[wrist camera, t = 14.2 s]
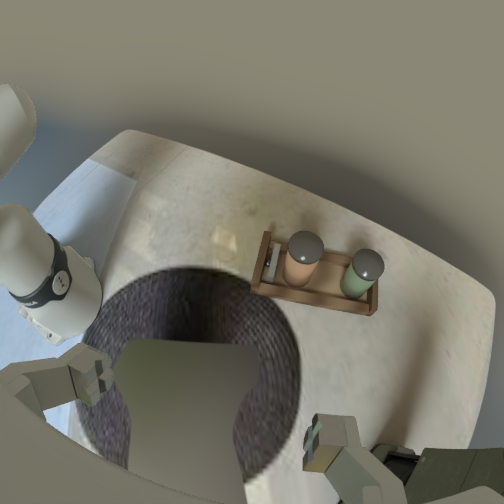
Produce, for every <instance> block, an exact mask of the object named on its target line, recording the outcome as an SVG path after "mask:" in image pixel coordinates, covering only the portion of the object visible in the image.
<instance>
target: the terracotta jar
mask: <svg viewBox="0 0 504 504" xmlns="http://www.w3.org/2000/svg"><path fill="white" fill-rule="evenodd" d="M323 251H324V245H323V242H322V240H321V239H320V238H319V237H318V236H317V235H316V234H314V233H312V232H309V231H300V232H297V233H295V234H293V235H292V236H291V238H290V240H289V244H288V251H287V255H286V259H285V263H284V267H283V271H282V276H283V279H284V281H285V282H286V283H287V284H288V285H289V286H291V287H295V288H300V287H304V286H305V285H307V284H308V283H309V281H310V279H311V277H312V275H313V272H314V270H315V268H316V266H317V263H318V261H319V259H320V258H321V256H322V254H323Z"/></svg>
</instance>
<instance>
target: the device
mask: <svg viewBox="0 0 504 504" xmlns="http://www.w3.org/2000/svg"><path fill="white" fill-rule="evenodd" d="M413 451H414V450H412V449H408V448H405V447H402V446H391V445H384V444H378V445H376V446H375V447H374V448H373V449H372V450H371V451H370V452H371V453H372V454H373V455H374V456H375V457H376V458H377V459H378V460H379V461H380V462H381V463H382V464H383V465H384V466H385V467H387V468H388V469H389V470H390V471H391V472H392V473H393V474H394V475H395V476H396V477H398V478H399V479H400V480H401V481H402V482H403V486H404V491H405V495H406V499H407V504H424V503H428V502H432V501H435V500H439V499H443V498H446V497H449V496H453V495H456V494H459V493H462V492H465V491H467V490H470V489H473V488H475V487H479V486H487V487H489V488H491V489H492V490H494V491H496V492H497V493H499V494H500V495H502V496H503V497H504V448H490V449H436V448H424V450H423V452H422V454H421V456H419V455H416V454H415V452H413ZM416 461H418V462H416ZM338 504H345V503H344V502H343V500H342V499H341V500H340V502H339V503H338Z"/></svg>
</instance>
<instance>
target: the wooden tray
mask: <svg viewBox="0 0 504 504" xmlns="http://www.w3.org/2000/svg"><path fill="white" fill-rule="evenodd" d="M270 238H271V232H268V231H264V234H263V238H262V242H261V246H260V250H259V254H258V257H257V261H256V265H255V269H254V273H253V277H252V280H251V293H253V294H258V295H263V296H267V297H272V298H277V299H282V300H286V301H291V302H296V303H301V304H306V305H311V306H317V307H322V308H327V309H332V310H338V311H343V312H349V313H355V314H360V315H366V316H371V315H372V314H373V313H375V312H376V311H377V308H378V279H377V280H376V281H375V282H374V283H373V284H372V285H371V287H370V288H369V289H368V290H367V291H366V292H365V293H364V295H363V296H362V297H360V298H358V299H351V298H348V297H347V296H345V295H344V294H343V293H342V291H341V289H340V280H341V278H342V276H343V275H344V273H345V272H346V270H347V268H348V267H349V265H350V264H351V262H352V260H353V258H351V257H346V256H342V255H337V254H332V253H328V252H323V254H322V256H321V258H320V259H319V261H318V263H317V266H316V268H315V270H314V272H313V275H312V277H311V279H310V281H309V283H308V284H307V285H305V286H304V287H300V288H295V287H291V286H289V285H288V284H287V283H286V282H285V281H284V279H283V276H282V271H283V267H284V263H285V259H286V255H287V251H288V244H285V243H280V242H275V241H270ZM275 243H277V244H281V246H280V251H279V256H278V261H277V265H276V270H275V275H274V279H273V284H272V285H269V284H266V282H267V276H268V271H269V267H265V261H266V260H271V258H272V254H273V250H274V245H275Z"/></svg>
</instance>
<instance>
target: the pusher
mask: <svg viewBox="0 0 504 504" xmlns="http://www.w3.org/2000/svg"><path fill="white" fill-rule="evenodd" d="M280 246H281V244H277V243H275V245H274V250H273V254H272V258H271V260H266V261H265V267H269V271H268V276H267V282H266V284H269V285H272V284H273V279H274V275H275V270H276V265H277V261H278V256H279V251H280Z"/></svg>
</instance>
